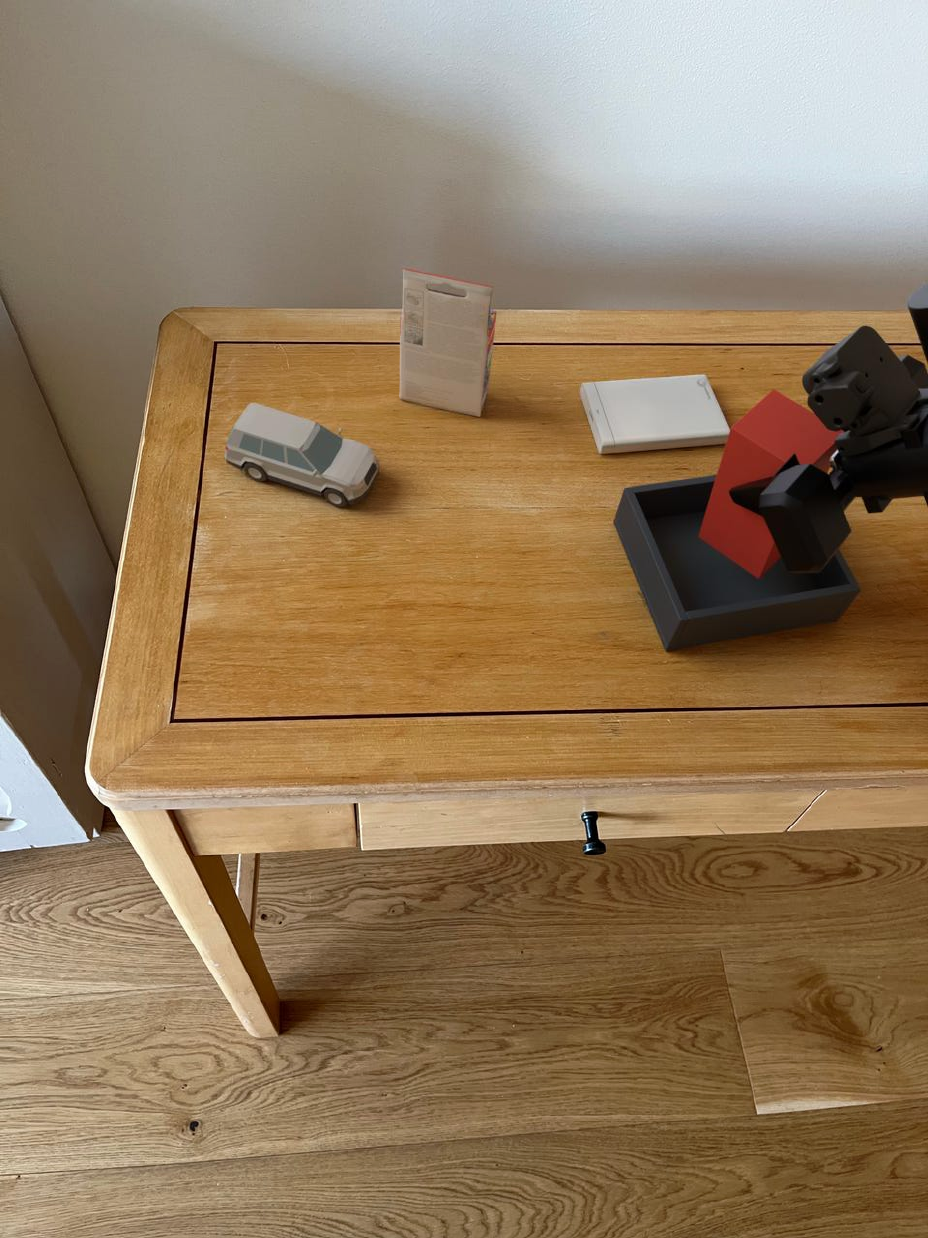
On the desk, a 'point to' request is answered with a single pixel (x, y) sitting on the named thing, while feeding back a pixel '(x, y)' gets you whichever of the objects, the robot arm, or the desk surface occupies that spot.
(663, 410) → the hard drive
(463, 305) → the ink box
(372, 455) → the toy car
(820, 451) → the package
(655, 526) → the dark gray tray
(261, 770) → the desk surface
